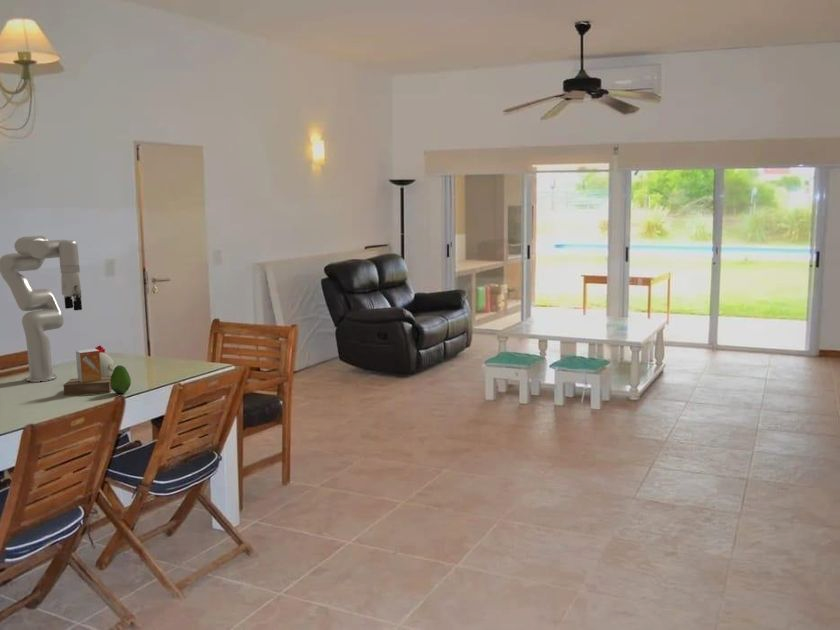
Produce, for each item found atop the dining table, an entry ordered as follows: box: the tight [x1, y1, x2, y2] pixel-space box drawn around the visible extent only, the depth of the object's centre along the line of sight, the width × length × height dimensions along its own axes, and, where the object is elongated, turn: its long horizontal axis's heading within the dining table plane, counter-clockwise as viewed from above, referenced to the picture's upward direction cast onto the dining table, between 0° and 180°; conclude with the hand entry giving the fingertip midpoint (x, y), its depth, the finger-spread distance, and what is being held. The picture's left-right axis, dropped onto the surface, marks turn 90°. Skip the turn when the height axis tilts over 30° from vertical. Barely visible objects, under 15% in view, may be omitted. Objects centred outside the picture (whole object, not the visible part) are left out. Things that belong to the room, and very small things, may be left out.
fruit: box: [110, 365, 132, 394], centre depth 332 cm, size 8×8×12 cm
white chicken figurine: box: [94, 345, 117, 377], centre depth 363 cm, size 14×14×15 cm
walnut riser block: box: [63, 377, 113, 396], centre depth 339 cm, size 12×18×5 cm, turn 99°
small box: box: [75, 348, 101, 383], centre depth 338 cm, size 8×6×13 cm
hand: (73, 309), depth 342 cm, fingers open, 9 cm apart
